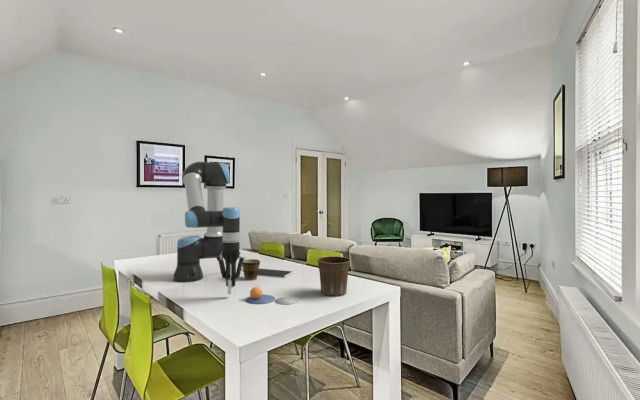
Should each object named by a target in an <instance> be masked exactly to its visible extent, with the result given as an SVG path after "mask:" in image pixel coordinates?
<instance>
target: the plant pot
mask: <svg viewBox="0 0 640 400" xmlns="http://www.w3.org/2000/svg"><path fill="white" fill-rule="evenodd" d="M316 261H317V266H318V272H319V280H320V282H319V283H320V292H321V294H322V295H324V296H327V297H331V296H334V297H341V295H342V296H345V295H346V294H347V290H348V278H349V269H350V264H351V263H350V262H351V258H349V257H345V256H335V255H334V256H332V255H331V256H322V257H321V256H320V257H318V258H316Z"/></svg>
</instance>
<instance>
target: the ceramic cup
mask: <svg viewBox="0 0 640 400" xmlns="http://www.w3.org/2000/svg"><path fill="white" fill-rule="evenodd" d="M260 264H261V260H260V259H255V258H252V259H251V258H250V259H249V258H248V259H245V260H244V261H243V264H242V268H241V272H243V276H244V280H245V281H255V280H257V279H258V276H257V274H258V269H260Z"/></svg>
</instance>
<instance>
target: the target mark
mask: <svg viewBox="0 0 640 400" xmlns="http://www.w3.org/2000/svg"><path fill="white" fill-rule="evenodd" d="M275 300H276V297H275V296H273V295H271V294H262V296H261V298H259V299H253V298H252V297H251V296H247V297H246V298H245V302H246V303H248V304H253V305H265V304H270V303H272V302H275Z"/></svg>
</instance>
